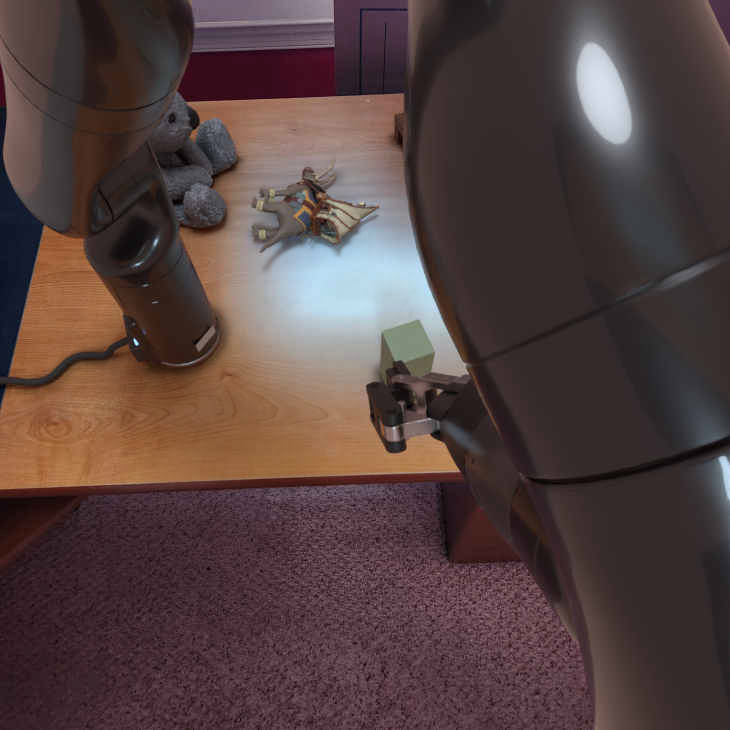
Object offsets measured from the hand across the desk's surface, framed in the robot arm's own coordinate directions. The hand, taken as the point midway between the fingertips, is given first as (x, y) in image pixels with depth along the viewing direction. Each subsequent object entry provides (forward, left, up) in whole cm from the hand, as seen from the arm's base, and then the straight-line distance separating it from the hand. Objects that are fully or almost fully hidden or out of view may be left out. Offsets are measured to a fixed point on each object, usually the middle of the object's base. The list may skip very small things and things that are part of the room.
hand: (453, 364), depth 43 cm
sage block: (+2, +11, -26) cm, 29 cm away
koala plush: (-18, +53, -26) cm, 62 cm away
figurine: (0, +39, -26) cm, 48 cm away
